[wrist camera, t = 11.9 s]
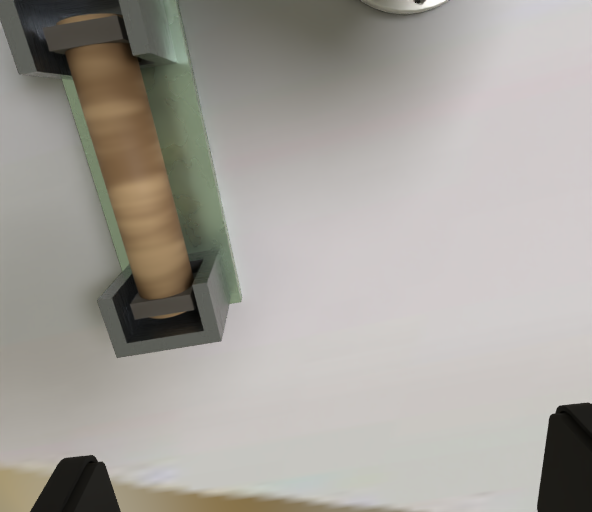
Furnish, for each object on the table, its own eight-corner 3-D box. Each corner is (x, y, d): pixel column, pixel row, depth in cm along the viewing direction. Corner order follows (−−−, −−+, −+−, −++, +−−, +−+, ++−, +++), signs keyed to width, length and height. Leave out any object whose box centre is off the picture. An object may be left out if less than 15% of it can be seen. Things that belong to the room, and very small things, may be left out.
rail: (73, 32, 28) (40, 21, 24) (137, 21, 28) (115, 8, 24) (151, 297, 34) (136, 323, 30) (204, 289, 34) (195, 313, 30)
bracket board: (44, 5, 30) (-32, -27, 22) (173, -17, 30) (140, -56, 22) (140, 313, 38) (107, 365, 31) (241, 296, 38) (234, 345, 31)
